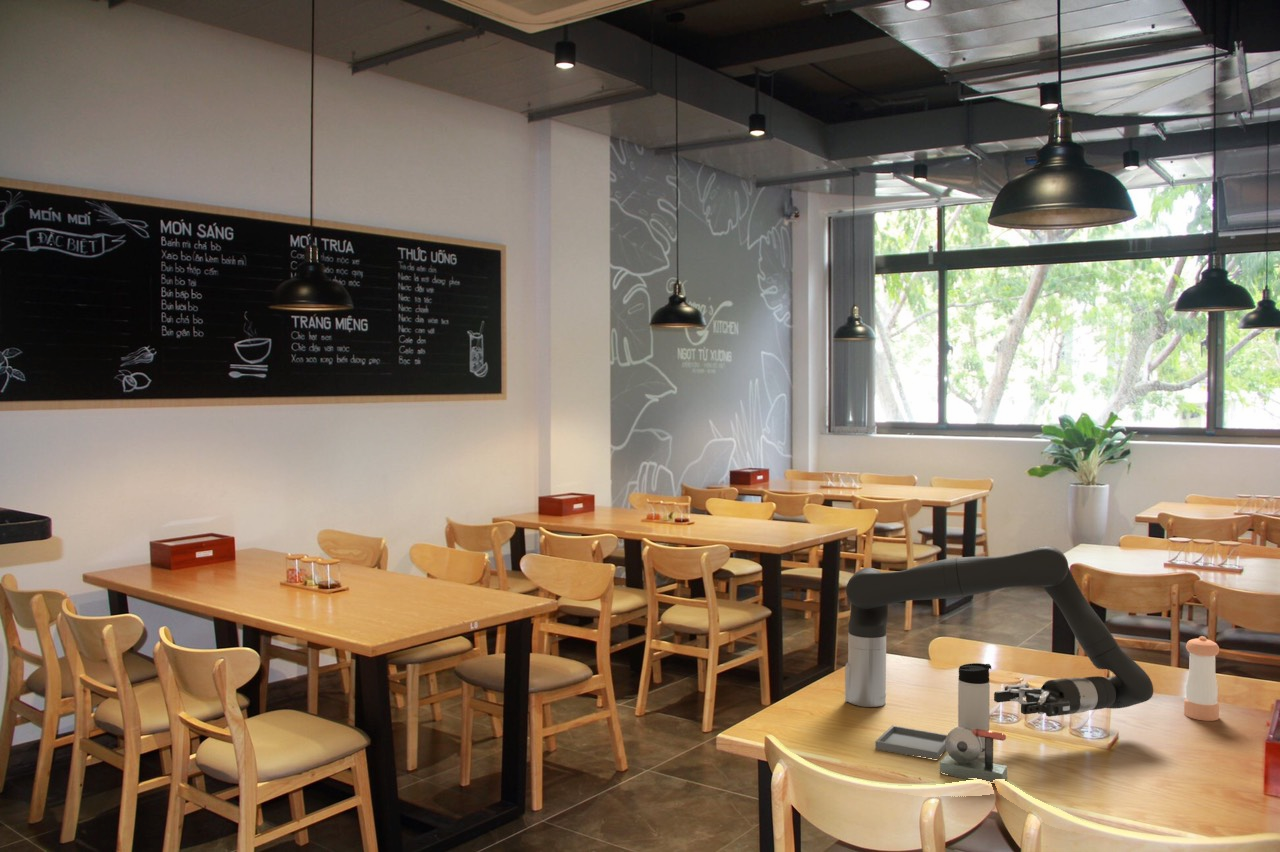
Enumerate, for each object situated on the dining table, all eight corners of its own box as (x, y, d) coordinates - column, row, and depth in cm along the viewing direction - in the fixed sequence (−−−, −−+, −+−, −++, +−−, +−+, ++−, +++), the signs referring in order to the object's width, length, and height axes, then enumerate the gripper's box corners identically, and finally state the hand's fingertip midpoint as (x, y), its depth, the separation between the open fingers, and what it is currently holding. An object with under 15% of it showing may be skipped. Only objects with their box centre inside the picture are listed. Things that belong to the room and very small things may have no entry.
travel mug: (993, 764, 207) (993, 669, 206) (959, 762, 208) (960, 667, 207) (988, 754, 213) (989, 661, 212) (956, 752, 214) (956, 659, 214)
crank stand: (939, 773, 202) (940, 727, 201) (946, 766, 206) (946, 720, 206) (1002, 786, 195) (1003, 737, 195) (1008, 777, 200) (1008, 730, 199)
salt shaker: (1186, 718, 236) (1187, 638, 236) (1182, 709, 243) (1183, 631, 243) (1221, 722, 234) (1222, 641, 233) (1216, 713, 240) (1217, 634, 240)
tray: (875, 749, 216) (875, 741, 216) (892, 733, 226) (892, 725, 226) (936, 761, 209) (937, 752, 209) (951, 743, 219) (951, 735, 219)
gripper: (1046, 670, 225) (986, 676, 219) (1094, 688, 211) (1031, 695, 206) (1046, 703, 225) (986, 710, 220) (1093, 723, 211) (1031, 731, 206)
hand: (1008, 703), depth 213 cm, fingers open, 8 cm apart
